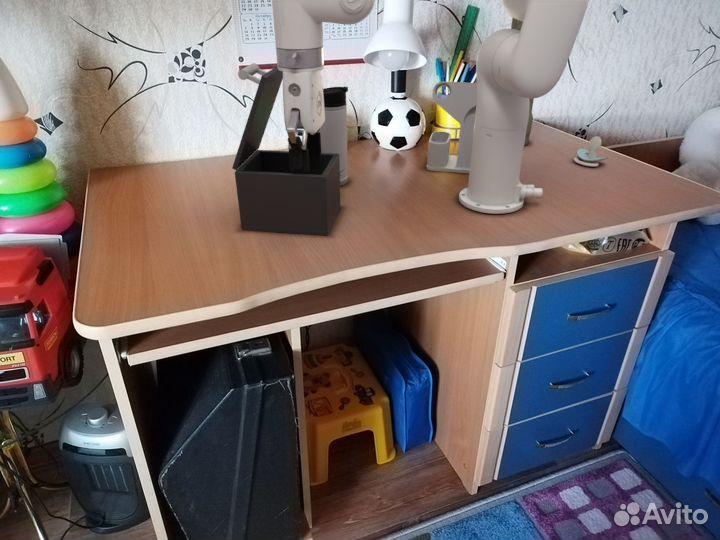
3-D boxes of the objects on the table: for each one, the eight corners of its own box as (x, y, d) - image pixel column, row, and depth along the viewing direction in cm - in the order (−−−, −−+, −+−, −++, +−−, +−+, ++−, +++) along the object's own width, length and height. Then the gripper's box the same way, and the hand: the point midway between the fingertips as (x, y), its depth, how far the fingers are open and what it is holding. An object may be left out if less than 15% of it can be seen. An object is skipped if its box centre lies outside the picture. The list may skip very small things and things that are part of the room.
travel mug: (345, 188, 114) (344, 91, 104) (315, 186, 115) (311, 89, 105) (352, 178, 119) (351, 84, 109) (323, 176, 121) (319, 83, 111)
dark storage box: (340, 207, 105) (339, 153, 100) (327, 235, 95) (325, 176, 89) (262, 203, 108) (257, 149, 102) (241, 230, 97) (234, 172, 92)
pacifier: (591, 170, 124) (609, 165, 126) (596, 143, 121) (615, 139, 123) (566, 161, 129) (584, 156, 132) (571, 135, 126) (589, 131, 129)
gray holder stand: (424, 169, 124) (428, 88, 115) (429, 156, 133) (434, 79, 123) (501, 176, 120) (513, 93, 111) (502, 161, 129) (512, 83, 120)
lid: (287, 64, 93) (260, 50, 93) (266, 77, 83) (235, 62, 82) (258, 148, 102) (233, 136, 101) (236, 170, 91) (207, 157, 91)
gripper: (310, 69, 79) (316, 181, 87) (333, 50, 94) (336, 148, 102) (261, 68, 80) (271, 179, 88) (291, 50, 95) (298, 146, 103)
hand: (306, 162), depth 95 cm, fingers open, 8 cm apart
